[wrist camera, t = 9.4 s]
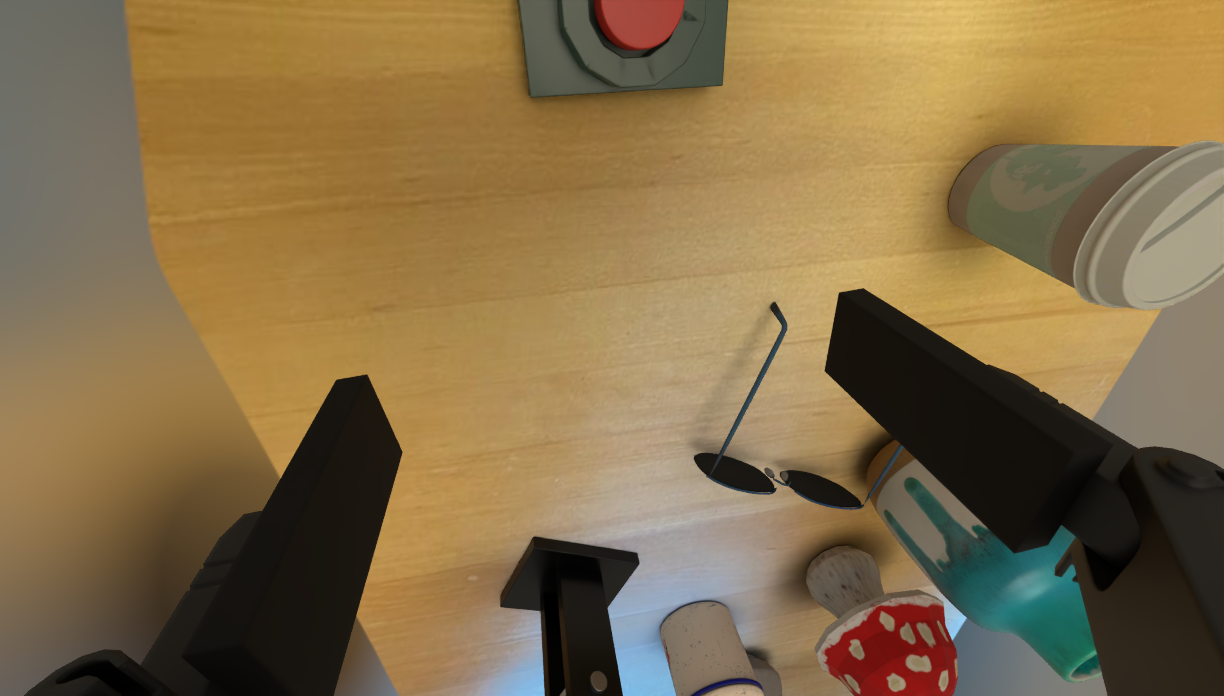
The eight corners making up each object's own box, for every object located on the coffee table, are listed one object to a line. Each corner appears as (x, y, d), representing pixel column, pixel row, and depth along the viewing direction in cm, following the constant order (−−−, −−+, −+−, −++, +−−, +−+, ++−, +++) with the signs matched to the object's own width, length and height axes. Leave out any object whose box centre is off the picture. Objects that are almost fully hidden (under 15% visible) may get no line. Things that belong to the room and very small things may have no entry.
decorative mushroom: (898, 508, 51) (1026, 653, 38) (878, 581, 58) (980, 722, 46) (778, 540, 50) (869, 700, 37) (773, 610, 57) (847, 763, 45)
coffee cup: (1060, 106, 31) (1332, 123, 20) (1026, 230, 35) (1235, 294, 25) (939, 140, 30) (1154, 175, 20) (921, 260, 35) (1088, 338, 25)
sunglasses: (682, 449, 40) (705, 487, 36) (757, 293, 36) (795, 314, 31) (831, 479, 46) (867, 515, 42) (911, 348, 42) (961, 372, 37)
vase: (966, 408, 44) (1226, 602, 28) (920, 487, 50) (1117, 689, 33) (869, 414, 42) (1089, 627, 26) (832, 496, 48) (996, 715, 31)
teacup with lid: (641, 630, 54) (670, 754, 44) (702, 589, 52) (746, 710, 42) (700, 656, 60) (737, 771, 50) (757, 620, 58) (807, 733, 48)
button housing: (529, 95, 25) (531, 99, 21) (507, -79, 21) (506, -108, 18) (707, 84, 26) (737, 86, 23) (716, -82, 22) (752, -109, 19)
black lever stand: (500, 595, 46) (496, 756, 35) (533, 536, 42) (540, 695, 32) (599, 606, 50) (623, 753, 39) (637, 552, 46) (674, 698, 36)
